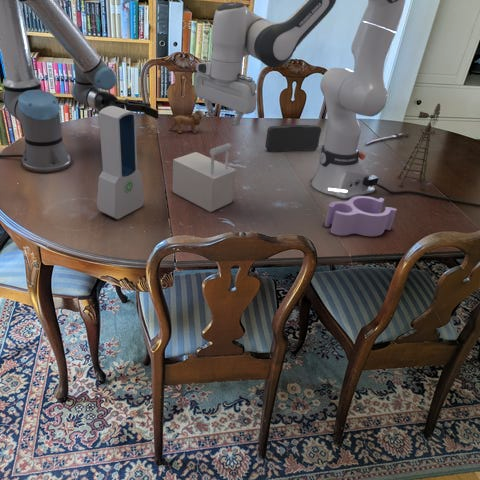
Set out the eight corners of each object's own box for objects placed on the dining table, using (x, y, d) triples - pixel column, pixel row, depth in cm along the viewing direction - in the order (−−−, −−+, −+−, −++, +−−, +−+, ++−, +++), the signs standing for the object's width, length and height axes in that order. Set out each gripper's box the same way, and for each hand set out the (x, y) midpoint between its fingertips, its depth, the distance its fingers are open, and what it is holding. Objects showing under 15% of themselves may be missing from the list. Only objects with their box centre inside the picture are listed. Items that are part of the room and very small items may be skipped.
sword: (404, 132, 222) (404, 130, 221) (409, 135, 220) (410, 132, 219) (360, 144, 206) (361, 142, 205) (366, 147, 204) (366, 144, 203)
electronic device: (115, 221, 132) (108, 118, 116) (96, 212, 135) (87, 110, 119) (145, 205, 142) (142, 107, 125) (126, 197, 145) (122, 101, 128)
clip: (337, 240, 135) (342, 219, 131) (318, 218, 145) (322, 198, 141) (395, 233, 141) (402, 213, 137) (373, 213, 151) (378, 194, 147)
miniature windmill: (423, 190, 169) (451, 109, 153) (399, 186, 170) (425, 105, 154) (420, 180, 177) (446, 101, 161) (397, 176, 178) (421, 97, 162)
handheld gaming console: (315, 147, 196) (319, 124, 190) (317, 149, 194) (322, 126, 188) (264, 149, 189) (267, 125, 183) (266, 152, 187) (269, 127, 181)
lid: (236, 173, 143) (239, 145, 138) (213, 182, 137) (215, 153, 131) (195, 155, 152) (197, 127, 147) (172, 163, 145) (173, 134, 140)
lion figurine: (200, 128, 202) (201, 108, 197) (204, 133, 198) (205, 112, 193) (167, 129, 197) (167, 108, 192) (170, 134, 193) (170, 113, 188)
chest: (232, 201, 149) (235, 173, 144) (210, 212, 142) (212, 182, 137) (194, 183, 158) (195, 155, 152) (172, 192, 151) (172, 163, 145)
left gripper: (132, 106, 176) (169, 122, 165) (73, 118, 160) (110, 137, 149) (131, 86, 172) (170, 101, 161) (70, 97, 156) (109, 114, 145)
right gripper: (264, 77, 121) (258, 128, 129) (207, 60, 132) (205, 109, 139) (248, 80, 117) (243, 133, 125) (191, 63, 128) (190, 112, 135)
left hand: (141, 118), depth 155 cm, fingers open, 13 cm apart
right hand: (222, 120), depth 132 cm, fingers open, 8 cm apart
